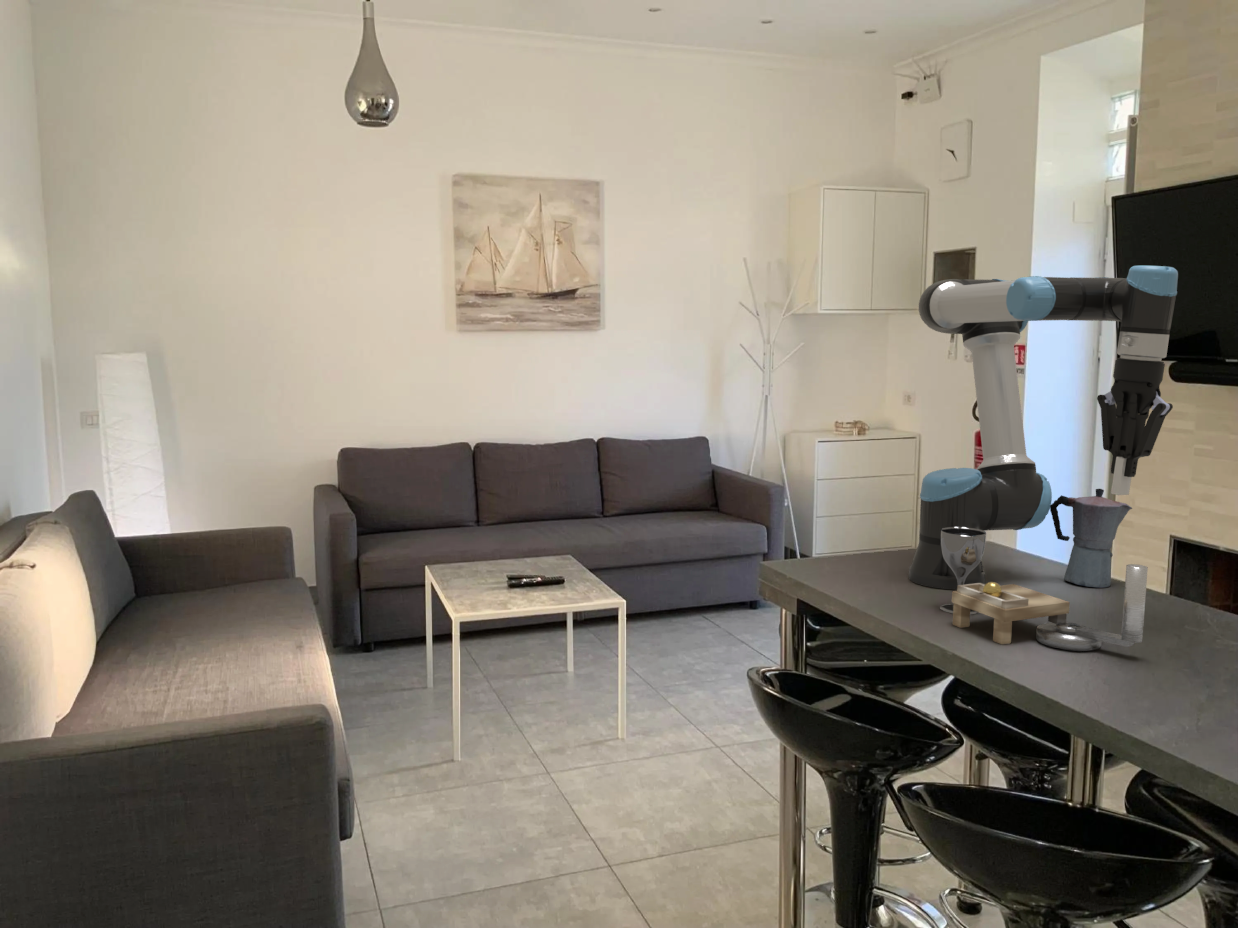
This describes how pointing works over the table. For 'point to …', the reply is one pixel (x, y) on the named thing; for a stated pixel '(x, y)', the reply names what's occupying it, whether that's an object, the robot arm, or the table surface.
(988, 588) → the ball
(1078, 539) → the moka pot
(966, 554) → the wine glass
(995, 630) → the stand
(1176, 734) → the table surface
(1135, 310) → the robot arm
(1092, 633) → the silver l-shaped piece
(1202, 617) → the table surface
